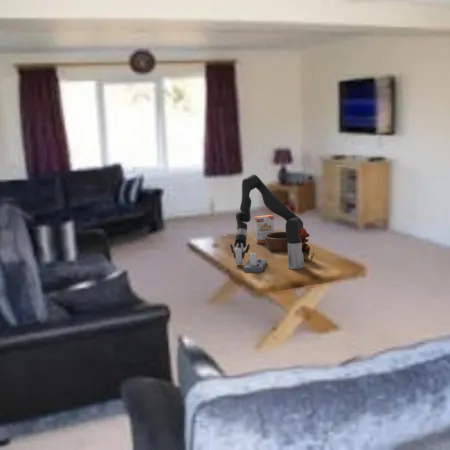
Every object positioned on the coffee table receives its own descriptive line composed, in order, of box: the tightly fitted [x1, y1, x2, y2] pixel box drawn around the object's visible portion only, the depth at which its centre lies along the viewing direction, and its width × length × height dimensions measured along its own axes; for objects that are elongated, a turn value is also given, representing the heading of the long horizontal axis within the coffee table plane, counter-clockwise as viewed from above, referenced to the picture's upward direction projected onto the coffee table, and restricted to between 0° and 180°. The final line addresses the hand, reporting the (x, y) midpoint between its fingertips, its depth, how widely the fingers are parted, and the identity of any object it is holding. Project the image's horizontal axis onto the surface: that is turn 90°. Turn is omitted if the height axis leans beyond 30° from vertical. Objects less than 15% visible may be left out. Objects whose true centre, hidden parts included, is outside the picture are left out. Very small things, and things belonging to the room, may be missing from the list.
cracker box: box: [254, 214, 275, 244], centre depth 518 cm, size 14×6×21 cm, turn 105°
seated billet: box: [249, 252, 259, 267], centre depth 442 cm, size 4×4×11 cm
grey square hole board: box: [243, 258, 268, 273], centre depth 448 cm, size 22×12×3 cm, turn 168°
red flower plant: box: [298, 227, 315, 262], centre depth 459 cm, size 15×17×25 cm
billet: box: [234, 247, 245, 266], centre depth 455 cm, size 4×4×11 cm
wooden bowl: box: [265, 231, 288, 252], centre depth 496 cm, size 25×25×10 cm
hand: (238, 257), depth 453 cm, fingers closed on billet, 4 cm apart
